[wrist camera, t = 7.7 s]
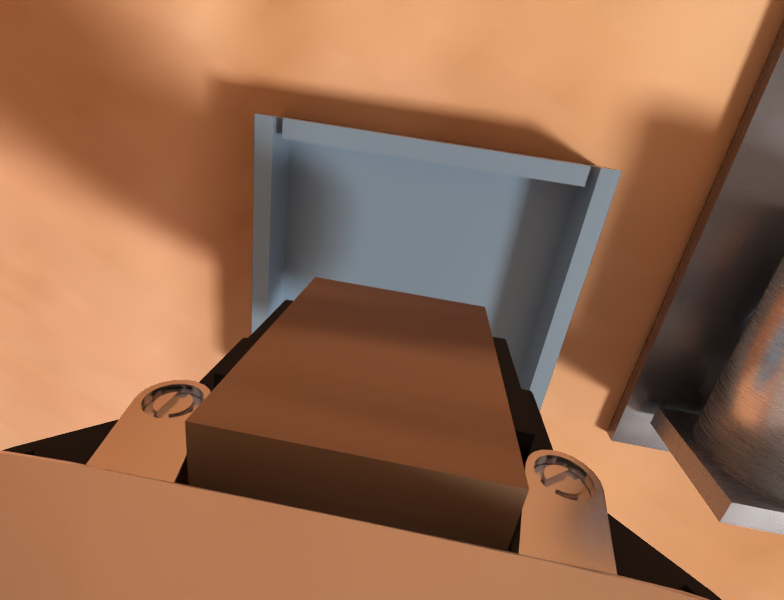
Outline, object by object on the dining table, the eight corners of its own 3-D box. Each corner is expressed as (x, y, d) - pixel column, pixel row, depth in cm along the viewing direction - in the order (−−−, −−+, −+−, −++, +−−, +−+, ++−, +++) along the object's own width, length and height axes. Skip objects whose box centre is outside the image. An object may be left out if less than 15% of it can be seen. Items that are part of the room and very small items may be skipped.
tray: (280, 116, 15) (254, 113, 13) (596, 165, 14) (621, 171, 12) (271, 378, 19) (250, 407, 17) (514, 426, 19) (522, 462, 17)
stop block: (314, 276, 11) (184, 421, 5) (485, 306, 11) (529, 489, 5) (304, 414, 13) (196, 632, 7) (450, 443, 12) (457, 691, 7)
